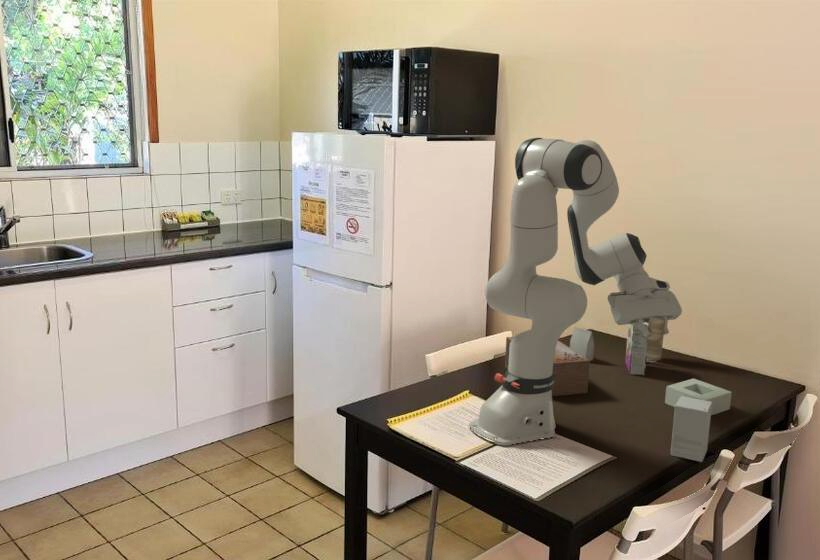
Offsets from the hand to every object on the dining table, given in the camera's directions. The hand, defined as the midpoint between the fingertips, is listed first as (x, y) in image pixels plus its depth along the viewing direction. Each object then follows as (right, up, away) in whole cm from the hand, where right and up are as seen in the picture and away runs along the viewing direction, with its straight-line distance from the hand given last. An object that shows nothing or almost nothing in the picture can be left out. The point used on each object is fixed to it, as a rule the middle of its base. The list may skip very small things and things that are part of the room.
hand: (657, 334), depth 196 cm
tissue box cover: (-26, -16, +25) cm, 39 cm away
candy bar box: (+5, -14, +35) cm, 38 cm away
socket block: (+13, -20, +7) cm, 25 cm away
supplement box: (0, -27, -22) cm, 34 cm away
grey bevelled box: (-10, -11, +44) cm, 47 cm away
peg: (0, -6, +2) cm, 7 cm away
